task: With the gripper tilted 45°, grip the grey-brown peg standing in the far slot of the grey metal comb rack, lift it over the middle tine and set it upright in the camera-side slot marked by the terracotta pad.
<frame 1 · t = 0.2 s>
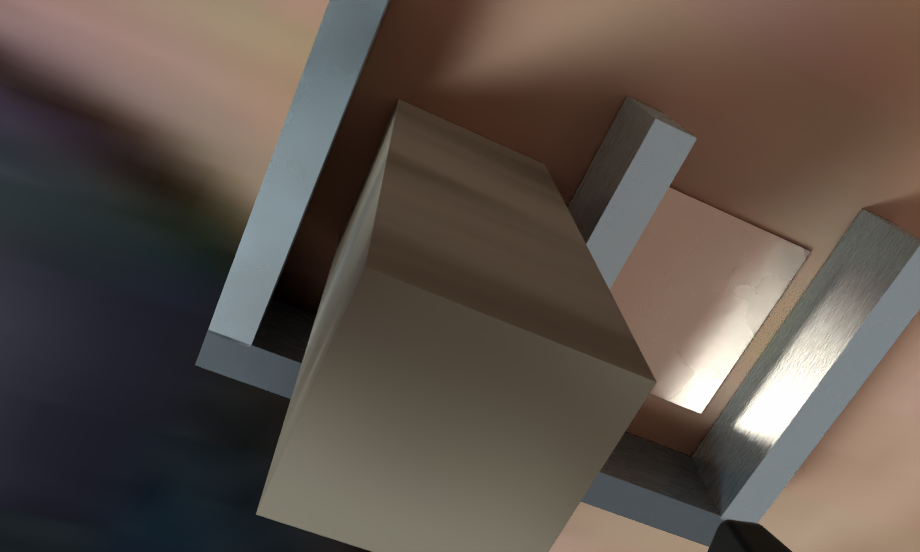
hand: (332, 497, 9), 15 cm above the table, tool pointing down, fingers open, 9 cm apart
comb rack: (563, 255, 23), on the table
grey-brown peg: (440, 202, 23), on the table
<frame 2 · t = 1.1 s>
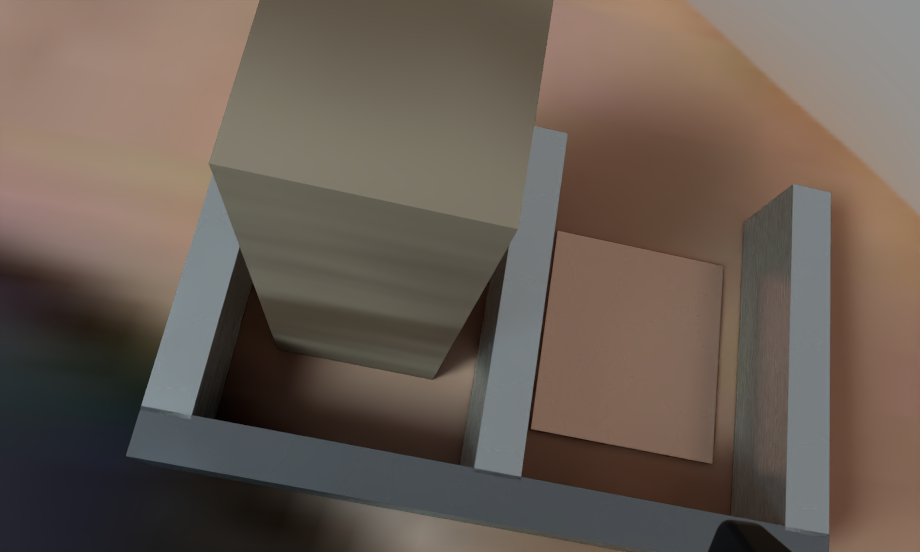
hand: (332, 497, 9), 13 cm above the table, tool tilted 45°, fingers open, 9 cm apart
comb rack: (503, 317, 24), on the table
grey-brown peg: (371, 291, 23), on the table
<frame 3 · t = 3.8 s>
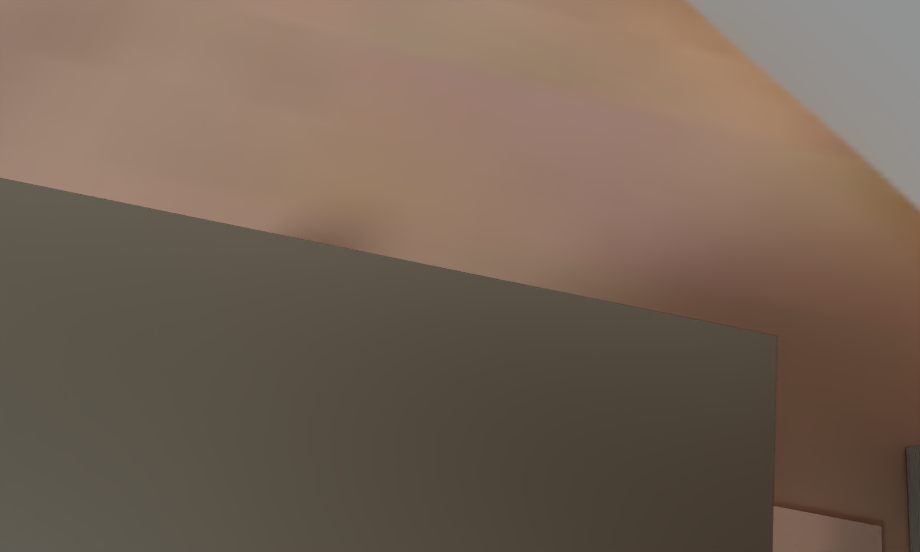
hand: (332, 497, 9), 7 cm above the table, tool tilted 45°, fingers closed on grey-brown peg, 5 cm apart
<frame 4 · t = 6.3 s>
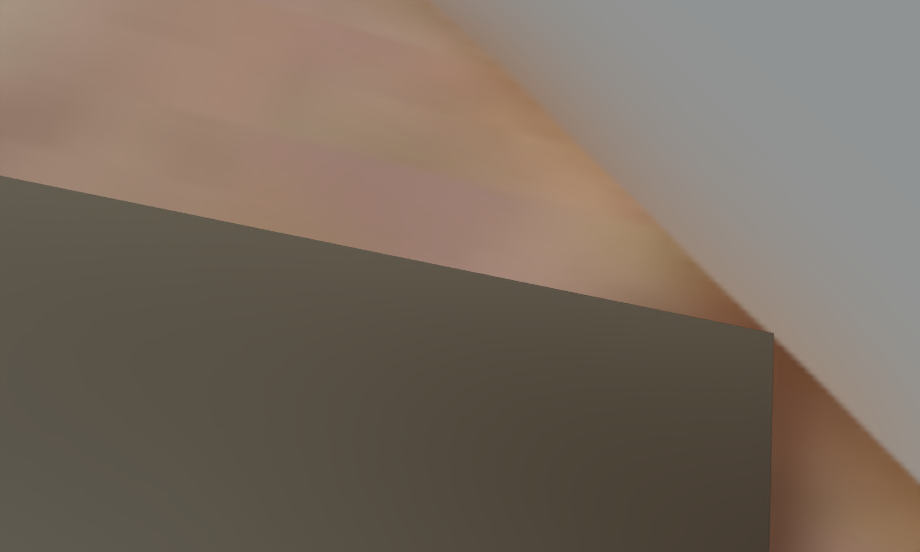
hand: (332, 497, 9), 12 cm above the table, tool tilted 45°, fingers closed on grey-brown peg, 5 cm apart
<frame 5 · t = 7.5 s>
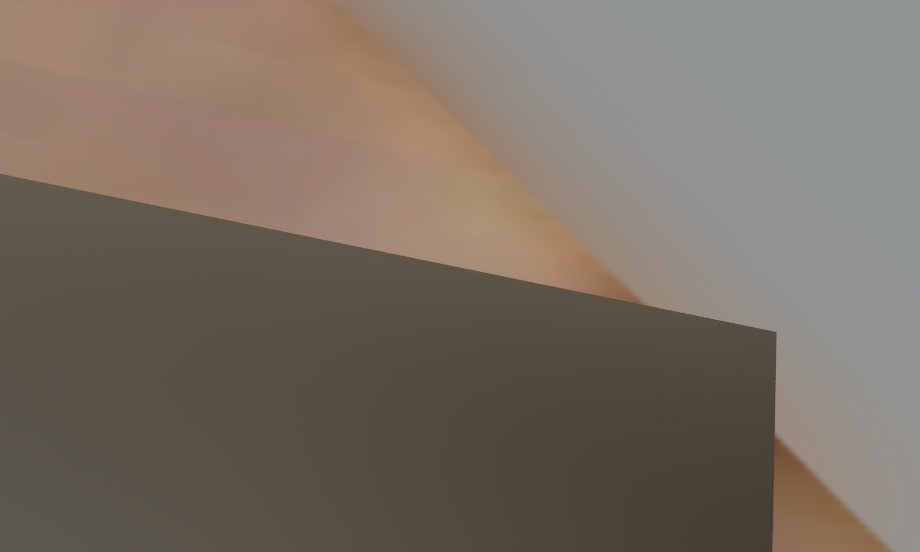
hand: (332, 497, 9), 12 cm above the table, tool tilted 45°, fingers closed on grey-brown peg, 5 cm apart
when the fingers open (8 cm above the table, at t = 8.6 s): grey-brown peg drops 1 cm, resting on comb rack.
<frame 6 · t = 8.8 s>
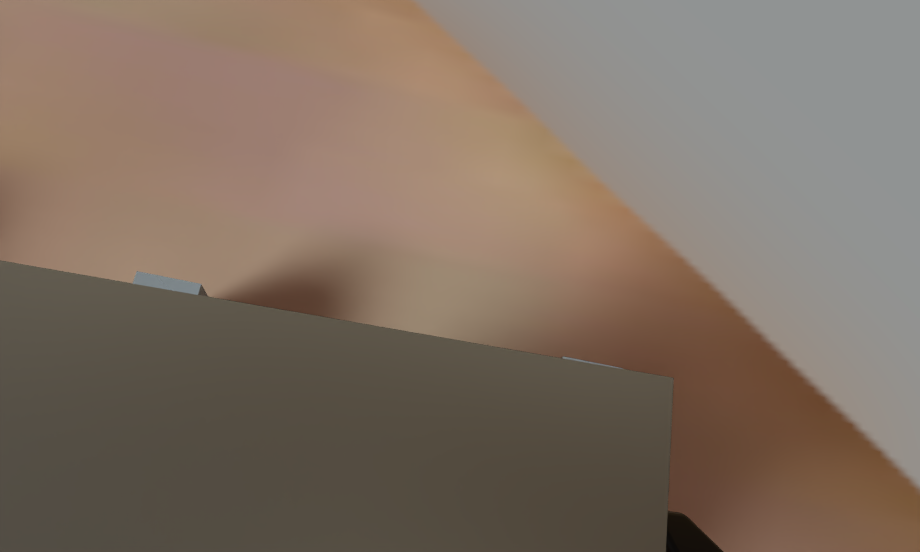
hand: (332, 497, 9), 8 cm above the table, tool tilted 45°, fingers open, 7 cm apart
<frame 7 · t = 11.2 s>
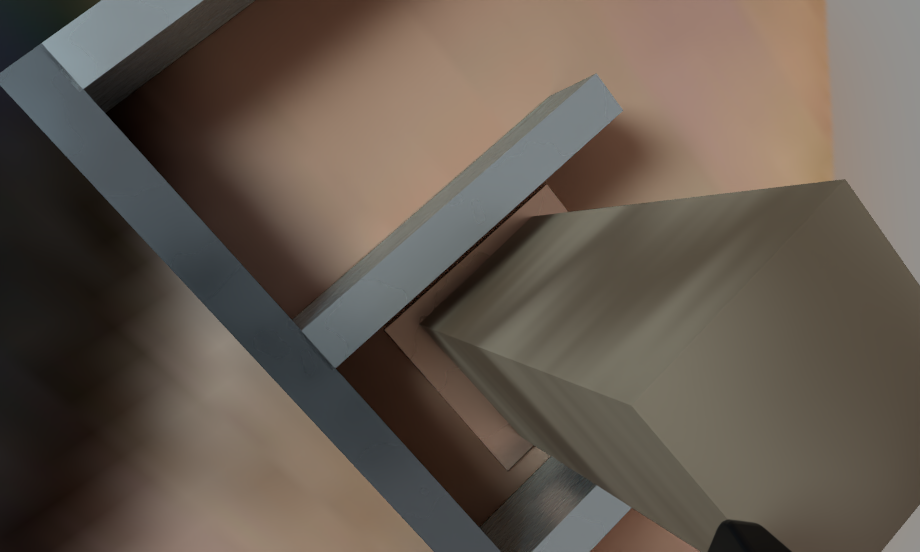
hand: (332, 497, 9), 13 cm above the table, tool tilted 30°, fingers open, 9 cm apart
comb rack: (438, 220, 22), on the table
grey-brown peg: (526, 326, 23), resting on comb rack
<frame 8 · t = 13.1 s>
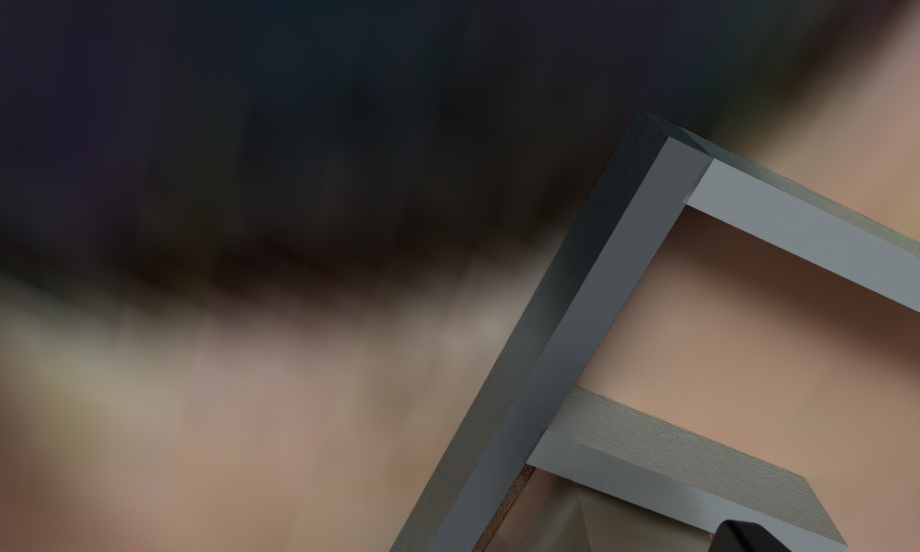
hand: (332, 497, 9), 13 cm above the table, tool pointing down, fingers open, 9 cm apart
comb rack: (663, 440, 24), on the table
grey-brown peg: (600, 532, 26), resting on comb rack
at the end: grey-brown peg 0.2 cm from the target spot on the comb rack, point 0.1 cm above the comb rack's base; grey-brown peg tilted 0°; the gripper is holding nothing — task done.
